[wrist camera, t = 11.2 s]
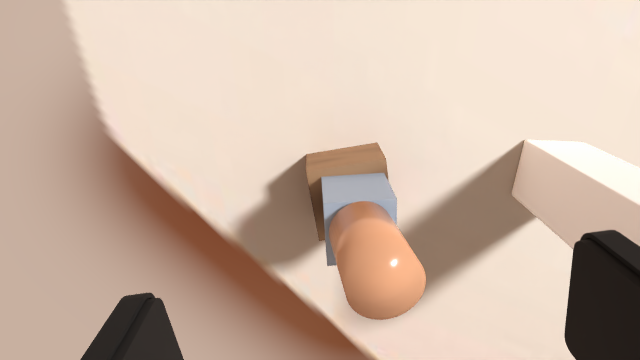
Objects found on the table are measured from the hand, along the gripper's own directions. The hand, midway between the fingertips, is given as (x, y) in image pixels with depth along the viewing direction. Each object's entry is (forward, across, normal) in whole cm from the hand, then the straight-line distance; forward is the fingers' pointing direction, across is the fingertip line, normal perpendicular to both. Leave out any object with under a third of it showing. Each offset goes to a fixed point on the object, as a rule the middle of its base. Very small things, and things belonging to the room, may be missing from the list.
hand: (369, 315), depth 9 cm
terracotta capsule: (+20, -1, +9) cm, 22 cm away
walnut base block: (+31, -1, +9) cm, 32 cm away
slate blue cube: (+26, -1, +10) cm, 27 cm away
